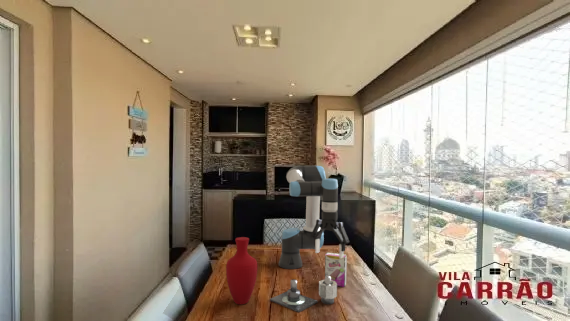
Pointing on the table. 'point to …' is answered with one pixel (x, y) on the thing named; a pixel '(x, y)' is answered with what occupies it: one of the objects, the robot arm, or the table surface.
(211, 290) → the table surface
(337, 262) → the candy bar box
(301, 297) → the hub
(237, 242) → the vase
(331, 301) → the stand
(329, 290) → the bushing
